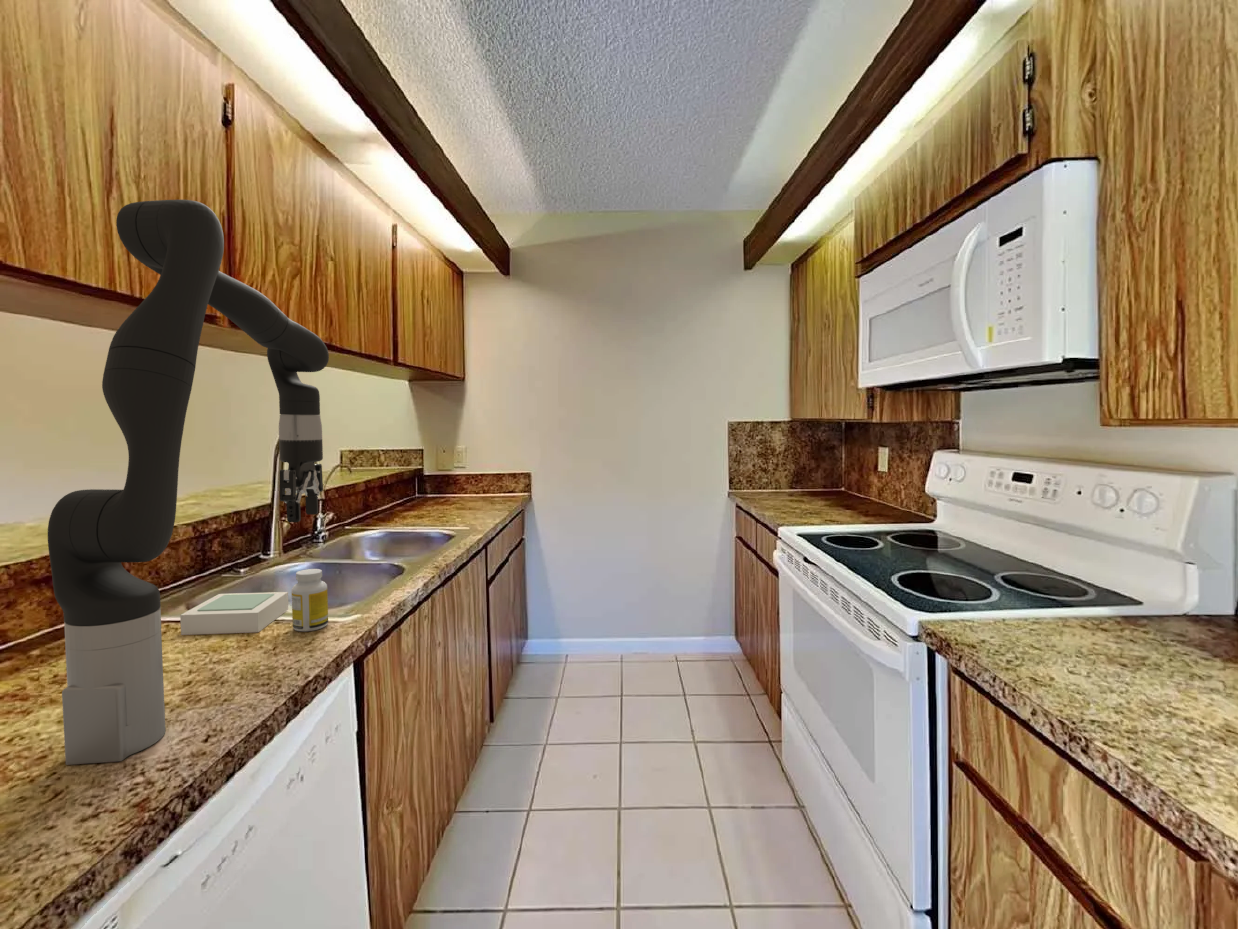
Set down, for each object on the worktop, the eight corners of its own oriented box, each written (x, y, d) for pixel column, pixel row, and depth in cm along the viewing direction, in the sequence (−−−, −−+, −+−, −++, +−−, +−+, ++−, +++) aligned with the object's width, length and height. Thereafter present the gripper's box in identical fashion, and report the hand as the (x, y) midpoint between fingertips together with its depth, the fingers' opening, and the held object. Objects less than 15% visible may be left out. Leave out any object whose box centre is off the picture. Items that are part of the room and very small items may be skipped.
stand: (258, 632, 113) (257, 611, 112) (181, 635, 111) (180, 613, 110) (288, 609, 127) (287, 590, 126) (219, 611, 124) (219, 592, 124)
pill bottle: (334, 622, 119) (333, 568, 118) (315, 633, 113) (314, 576, 112) (305, 620, 120) (304, 567, 119) (284, 631, 113) (283, 575, 112)
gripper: (305, 439, 106) (308, 525, 107) (334, 436, 120) (336, 511, 121) (262, 439, 105) (266, 525, 106) (296, 435, 119) (299, 511, 120)
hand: (303, 518), depth 114 cm, fingers open, 8 cm apart
